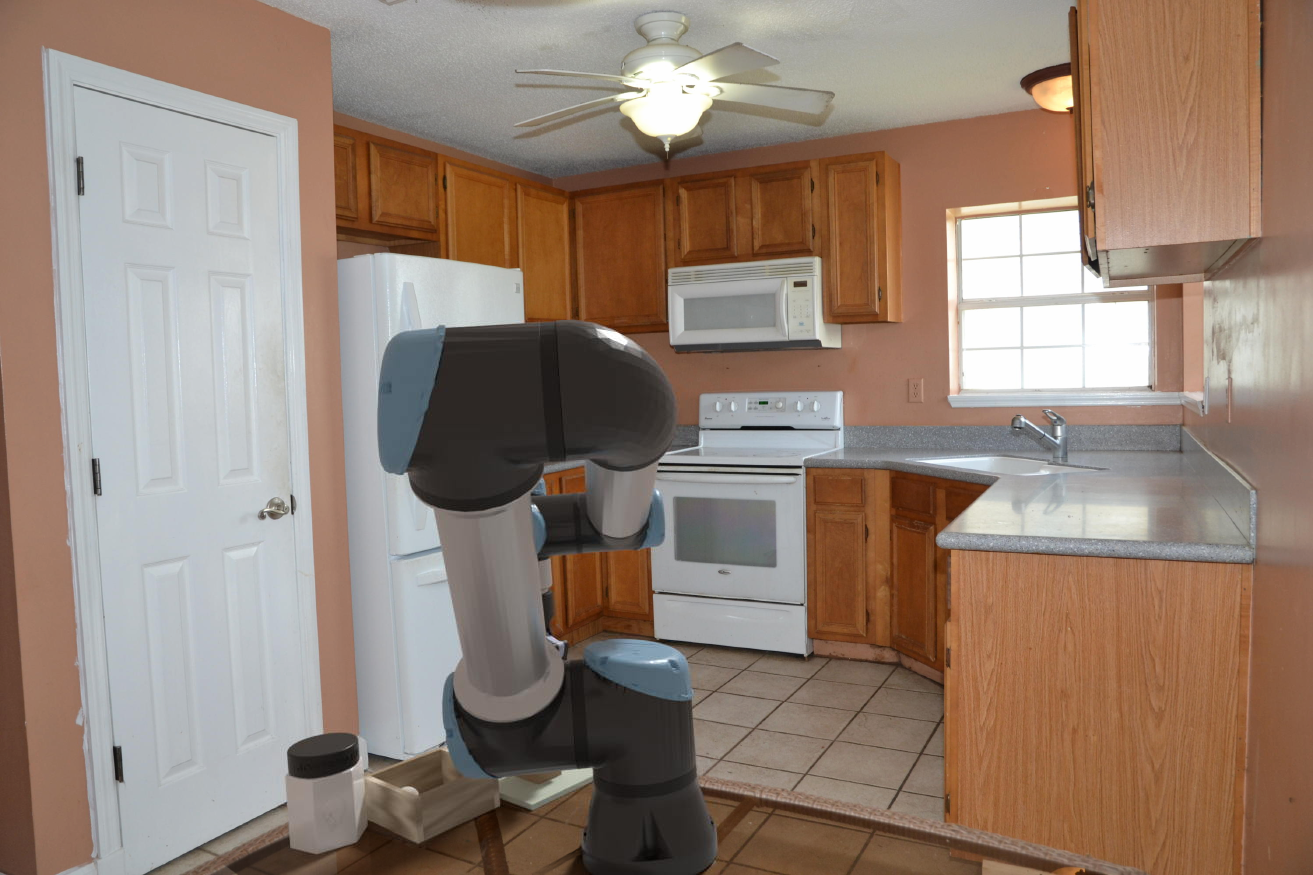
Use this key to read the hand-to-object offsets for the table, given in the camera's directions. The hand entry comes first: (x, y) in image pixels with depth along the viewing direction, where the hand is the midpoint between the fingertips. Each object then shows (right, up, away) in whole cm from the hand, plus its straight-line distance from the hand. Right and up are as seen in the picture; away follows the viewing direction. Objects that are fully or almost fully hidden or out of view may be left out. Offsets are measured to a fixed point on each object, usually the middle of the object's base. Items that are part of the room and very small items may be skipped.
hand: (536, 762), depth 120 cm
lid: (0, -3, 0) cm, 3 cm away
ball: (-15, -4, -7) cm, 17 cm away
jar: (-23, -5, -12) cm, 27 cm away
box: (-12, -4, -8) cm, 15 cm away
